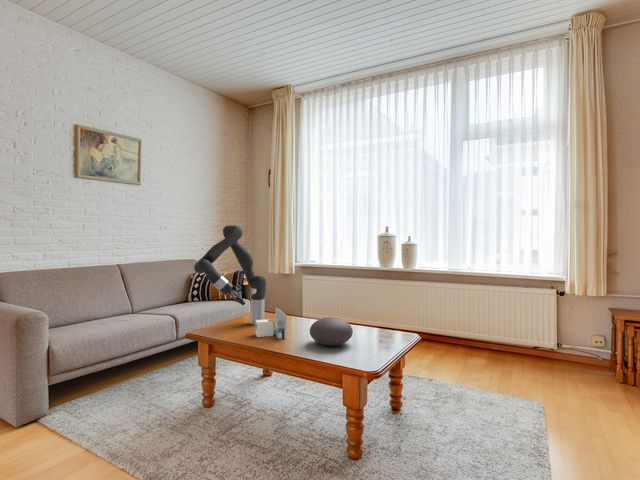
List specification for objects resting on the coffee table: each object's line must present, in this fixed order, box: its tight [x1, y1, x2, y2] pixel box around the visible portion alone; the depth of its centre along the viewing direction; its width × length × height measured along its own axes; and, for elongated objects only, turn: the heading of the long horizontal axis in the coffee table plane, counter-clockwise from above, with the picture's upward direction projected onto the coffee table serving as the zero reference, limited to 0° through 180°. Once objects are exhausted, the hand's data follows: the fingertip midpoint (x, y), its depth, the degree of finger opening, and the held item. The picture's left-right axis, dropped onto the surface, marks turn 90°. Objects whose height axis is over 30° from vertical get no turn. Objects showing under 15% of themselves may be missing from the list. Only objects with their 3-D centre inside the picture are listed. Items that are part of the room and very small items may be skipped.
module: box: [254, 318, 275, 338], centre depth 222 cm, size 6×10×10 cm, turn 110°
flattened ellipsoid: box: [309, 316, 354, 347], centre depth 205 cm, size 25×25×15 cm
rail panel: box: [274, 307, 288, 340], centre depth 225 cm, size 24×5×14 cm, turn 20°
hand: (244, 304), depth 218 cm, fingers closed
